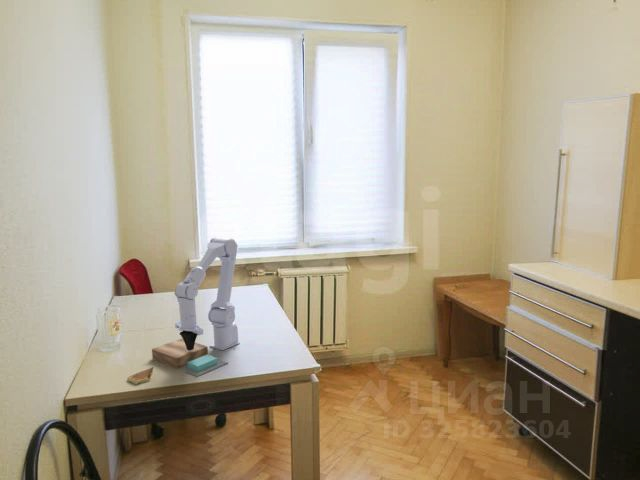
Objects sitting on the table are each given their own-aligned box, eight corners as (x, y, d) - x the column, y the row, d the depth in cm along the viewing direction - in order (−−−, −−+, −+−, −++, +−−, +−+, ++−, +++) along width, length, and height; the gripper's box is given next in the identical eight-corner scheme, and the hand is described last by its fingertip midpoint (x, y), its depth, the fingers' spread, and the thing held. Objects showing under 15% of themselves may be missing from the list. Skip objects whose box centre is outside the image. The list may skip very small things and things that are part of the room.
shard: (153, 370, 182) (153, 365, 182) (166, 375, 178) (165, 370, 177) (126, 381, 174) (126, 376, 174) (139, 386, 169) (138, 381, 169)
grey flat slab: (209, 356, 192) (208, 355, 192) (227, 363, 185) (227, 362, 185) (178, 369, 182) (178, 368, 182) (197, 376, 175) (197, 375, 175)
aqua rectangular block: (217, 358, 185) (217, 363, 185) (207, 354, 188) (207, 359, 189) (197, 366, 178) (198, 371, 178) (187, 362, 182) (187, 367, 182)
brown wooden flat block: (183, 347, 203) (182, 338, 202) (208, 356, 193) (207, 346, 192) (152, 358, 192) (151, 349, 191) (177, 368, 182) (176, 358, 181)
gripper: (167, 313, 186) (170, 348, 189) (190, 321, 177) (193, 357, 180) (183, 309, 192) (185, 342, 194) (206, 315, 183) (209, 351, 185)
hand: (190, 349), depth 187 cm, fingers closed
